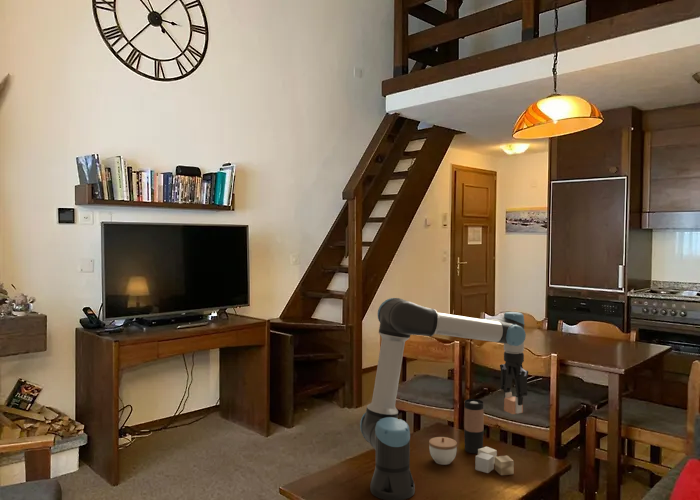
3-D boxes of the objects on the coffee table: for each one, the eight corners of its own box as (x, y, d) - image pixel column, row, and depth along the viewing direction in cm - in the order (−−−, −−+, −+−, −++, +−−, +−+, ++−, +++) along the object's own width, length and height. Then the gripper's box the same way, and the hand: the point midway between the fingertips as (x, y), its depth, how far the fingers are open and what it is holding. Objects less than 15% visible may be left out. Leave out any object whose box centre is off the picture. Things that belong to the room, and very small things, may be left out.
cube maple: (500, 475, 200) (501, 461, 200) (494, 469, 205) (494, 456, 205) (513, 474, 201) (513, 460, 201) (507, 468, 206) (507, 455, 206)
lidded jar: (455, 456, 217) (455, 433, 217) (458, 467, 206) (458, 443, 206) (428, 455, 218) (428, 432, 218) (429, 466, 207) (429, 442, 207)
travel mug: (460, 448, 225) (460, 400, 225) (475, 445, 229) (475, 397, 228) (471, 455, 218) (472, 405, 218) (487, 451, 222) (487, 402, 221)
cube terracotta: (512, 414, 212) (512, 401, 212) (504, 410, 216) (504, 398, 216) (522, 412, 214) (523, 399, 214) (514, 408, 219) (514, 396, 218)
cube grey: (487, 473, 202) (487, 459, 202) (475, 469, 205) (475, 456, 205) (493, 468, 205) (493, 455, 205) (481, 465, 209) (481, 452, 209)
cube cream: (488, 466, 208) (488, 453, 208) (477, 462, 212) (477, 449, 212) (496, 463, 211) (496, 450, 211) (486, 458, 215) (486, 446, 215)
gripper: (538, 355, 208) (537, 416, 209) (505, 346, 225) (505, 403, 225) (523, 357, 205) (522, 418, 205) (491, 348, 221) (490, 405, 222)
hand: (513, 410), depth 215 cm, fingers closed on cube terracotta, 5 cm apart
